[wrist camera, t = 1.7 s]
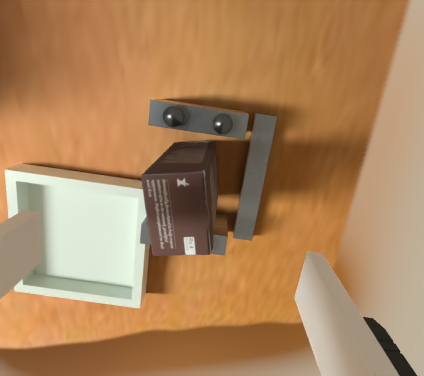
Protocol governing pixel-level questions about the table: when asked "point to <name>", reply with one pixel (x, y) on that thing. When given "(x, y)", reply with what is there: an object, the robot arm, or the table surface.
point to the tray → (83, 234)
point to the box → (182, 199)
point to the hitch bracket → (230, 127)
